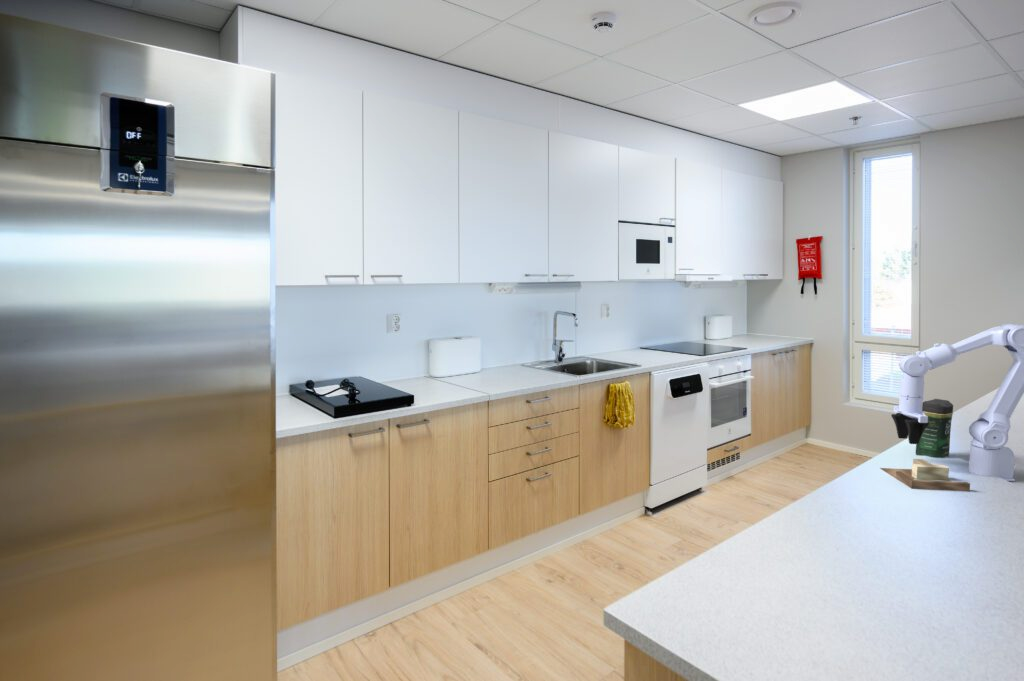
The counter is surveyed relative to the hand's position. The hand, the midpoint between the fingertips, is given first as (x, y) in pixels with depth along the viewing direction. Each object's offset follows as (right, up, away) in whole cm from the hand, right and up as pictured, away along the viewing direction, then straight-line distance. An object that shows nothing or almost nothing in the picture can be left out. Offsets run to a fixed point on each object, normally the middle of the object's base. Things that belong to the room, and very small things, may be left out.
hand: (908, 441), depth 171 cm
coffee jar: (+16, -7, +12) cm, 22 cm away
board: (-4, -10, -12) cm, 16 cm away
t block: (-1, -8, -9) cm, 12 cm away
